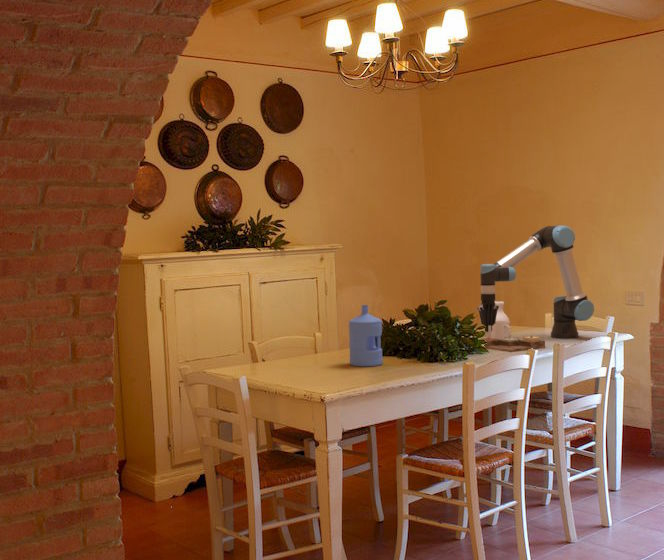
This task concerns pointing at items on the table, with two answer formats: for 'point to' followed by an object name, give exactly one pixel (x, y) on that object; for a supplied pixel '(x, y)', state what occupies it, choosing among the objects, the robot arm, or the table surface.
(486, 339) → the tile two
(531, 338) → the tile three
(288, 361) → the table surface
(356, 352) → the water jug
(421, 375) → the table surface
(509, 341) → the tile one
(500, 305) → the vase
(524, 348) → the board
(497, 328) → the mug
